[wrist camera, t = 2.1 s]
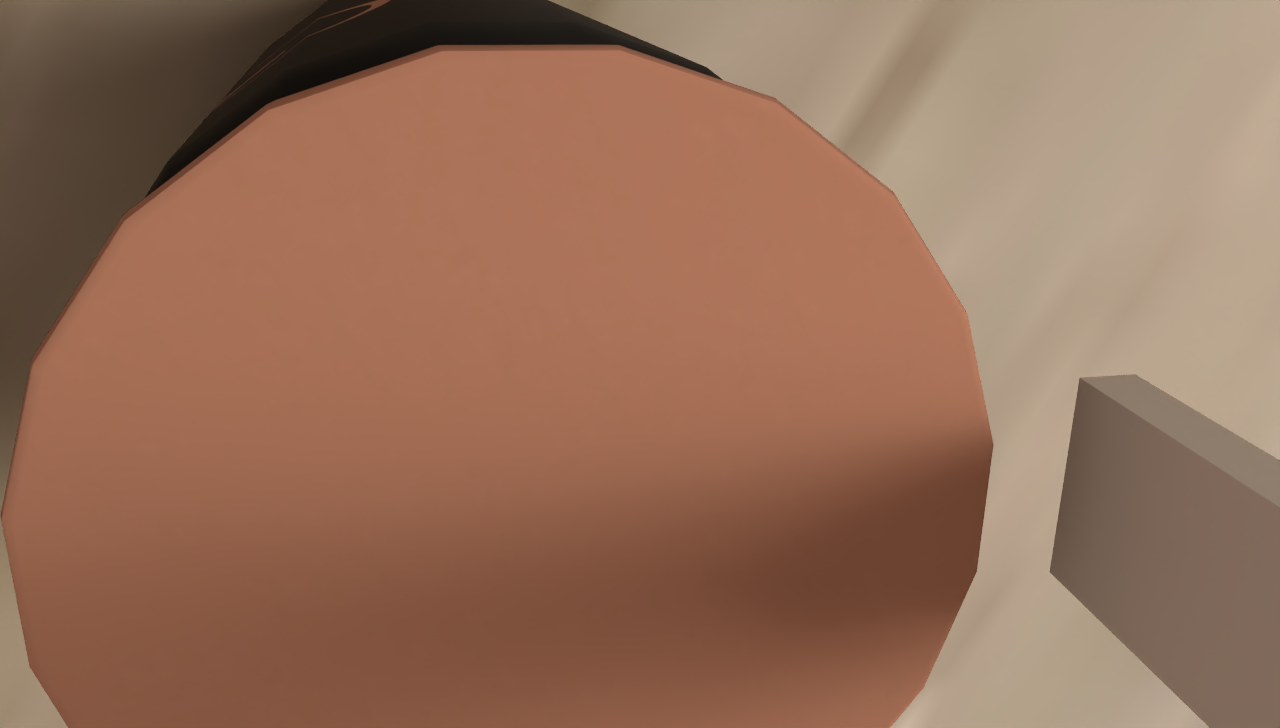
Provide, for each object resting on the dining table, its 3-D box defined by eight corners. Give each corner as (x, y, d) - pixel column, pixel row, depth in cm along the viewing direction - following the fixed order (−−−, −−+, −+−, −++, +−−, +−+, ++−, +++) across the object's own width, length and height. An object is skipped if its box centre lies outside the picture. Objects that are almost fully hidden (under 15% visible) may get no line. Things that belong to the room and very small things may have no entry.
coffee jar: (327, -118, 26) (246, -193, 10) (729, 98, 30) (1170, 312, 13) (152, 301, 28) (-155, 815, 12) (544, 454, 32) (722, 1013, 16)
